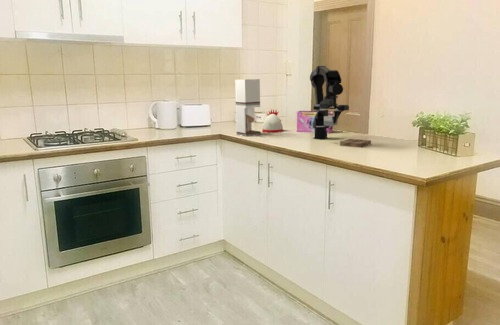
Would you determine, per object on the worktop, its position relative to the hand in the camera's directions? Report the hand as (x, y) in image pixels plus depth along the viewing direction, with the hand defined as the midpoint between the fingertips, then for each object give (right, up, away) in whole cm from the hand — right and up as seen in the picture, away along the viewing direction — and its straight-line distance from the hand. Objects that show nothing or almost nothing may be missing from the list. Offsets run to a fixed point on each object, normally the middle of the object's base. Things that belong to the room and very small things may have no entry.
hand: (330, 123), depth 225 cm
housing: (0, -1, 0) cm, 1 cm away
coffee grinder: (-45, -4, +41) cm, 61 cm away
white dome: (-29, 0, +56) cm, 63 cm away
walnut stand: (+12, -12, -5) cm, 18 cm away
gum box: (-1, -1, +49) cm, 49 cm away
